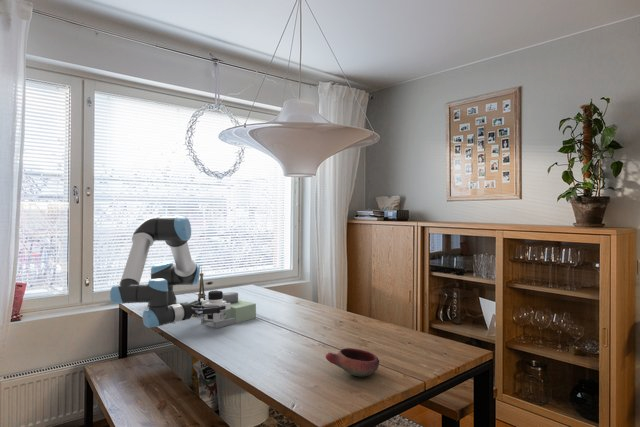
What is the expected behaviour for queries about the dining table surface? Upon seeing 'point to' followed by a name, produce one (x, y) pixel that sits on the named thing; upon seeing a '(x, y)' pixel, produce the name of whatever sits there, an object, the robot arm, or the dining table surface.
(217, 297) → the container
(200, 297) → the eiffel tower
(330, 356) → the bowl
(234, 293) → the sage green base block
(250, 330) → the dining table surface
